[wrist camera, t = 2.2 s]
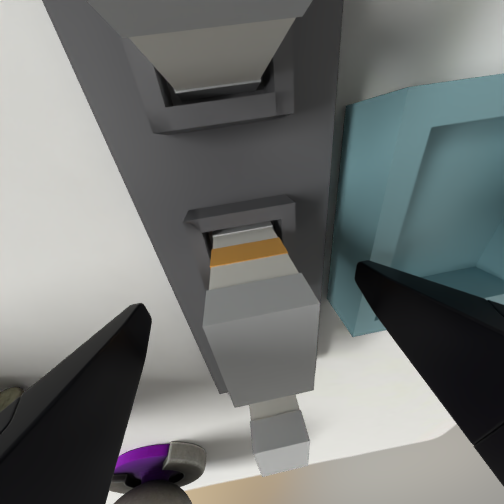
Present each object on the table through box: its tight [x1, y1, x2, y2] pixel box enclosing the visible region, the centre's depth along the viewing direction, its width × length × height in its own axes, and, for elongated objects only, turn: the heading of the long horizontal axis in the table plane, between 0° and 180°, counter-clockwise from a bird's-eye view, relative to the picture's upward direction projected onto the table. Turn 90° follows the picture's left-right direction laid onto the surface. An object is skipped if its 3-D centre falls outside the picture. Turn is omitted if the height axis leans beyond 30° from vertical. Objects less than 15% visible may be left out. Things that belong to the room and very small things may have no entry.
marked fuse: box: [203, 221, 320, 408], centre depth 8 cm, size 3×4×6 cm, turn 8°
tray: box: [327, 74, 504, 337], centre depth 11 cm, size 12×12×4 cm
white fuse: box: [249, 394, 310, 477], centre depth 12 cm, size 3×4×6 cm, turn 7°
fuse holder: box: [42, 0, 343, 394], centre depth 10 cm, size 9×28×3 cm, turn 8°
